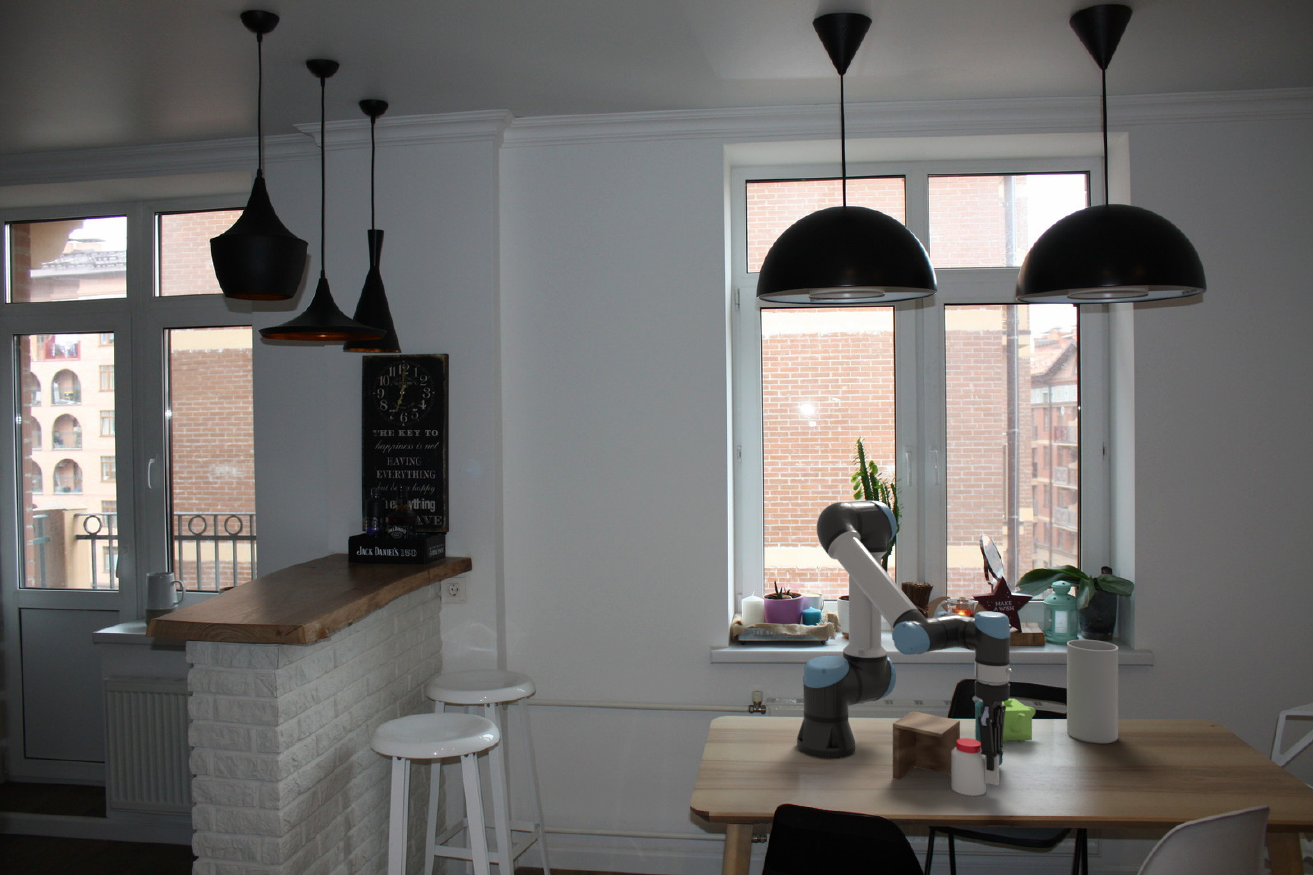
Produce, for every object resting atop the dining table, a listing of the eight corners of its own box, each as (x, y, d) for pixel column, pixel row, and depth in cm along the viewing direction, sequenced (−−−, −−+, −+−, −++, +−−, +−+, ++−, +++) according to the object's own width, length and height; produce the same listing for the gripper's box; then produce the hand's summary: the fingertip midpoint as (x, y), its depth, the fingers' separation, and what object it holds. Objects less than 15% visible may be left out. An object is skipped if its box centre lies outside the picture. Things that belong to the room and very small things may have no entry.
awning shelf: (892, 778, 214) (892, 723, 214) (912, 763, 223) (912, 711, 223) (941, 791, 207) (941, 734, 206) (959, 775, 216) (959, 720, 216)
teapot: (1024, 751, 232) (1024, 710, 232) (973, 740, 240) (973, 701, 240) (1041, 735, 244) (1041, 696, 244) (991, 725, 252) (991, 688, 252)
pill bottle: (945, 783, 211) (945, 737, 211) (977, 781, 212) (977, 735, 212) (959, 796, 203) (959, 748, 203) (992, 795, 204) (992, 747, 204)
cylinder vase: (1060, 727, 250) (1061, 639, 249) (1108, 729, 248) (1108, 640, 248) (1075, 743, 237) (1075, 650, 237) (1125, 745, 236) (1125, 651, 235)
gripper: (1000, 690, 197) (999, 796, 197) (1017, 677, 207) (1017, 777, 207) (966, 684, 201) (966, 787, 202) (984, 671, 212) (984, 770, 212)
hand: (992, 782), depth 204 cm, fingers closed
